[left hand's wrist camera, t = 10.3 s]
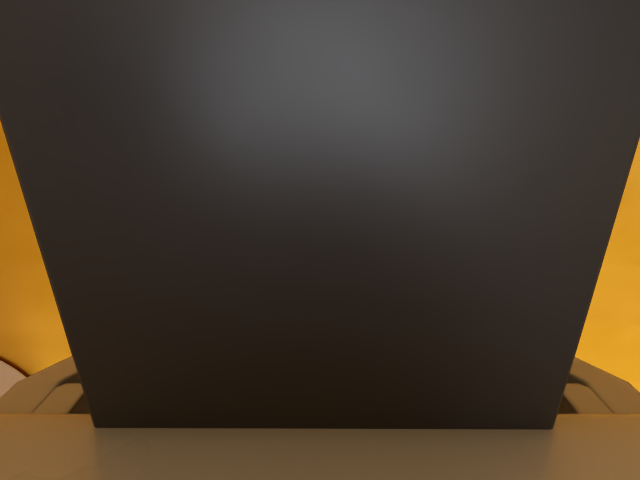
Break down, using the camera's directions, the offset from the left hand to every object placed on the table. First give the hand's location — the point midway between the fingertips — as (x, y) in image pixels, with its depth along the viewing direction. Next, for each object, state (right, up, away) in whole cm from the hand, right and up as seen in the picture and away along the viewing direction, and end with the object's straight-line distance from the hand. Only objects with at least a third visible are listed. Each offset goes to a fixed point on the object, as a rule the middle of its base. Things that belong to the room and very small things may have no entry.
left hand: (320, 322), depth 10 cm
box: (0, +12, +2) cm, 12 cm away
